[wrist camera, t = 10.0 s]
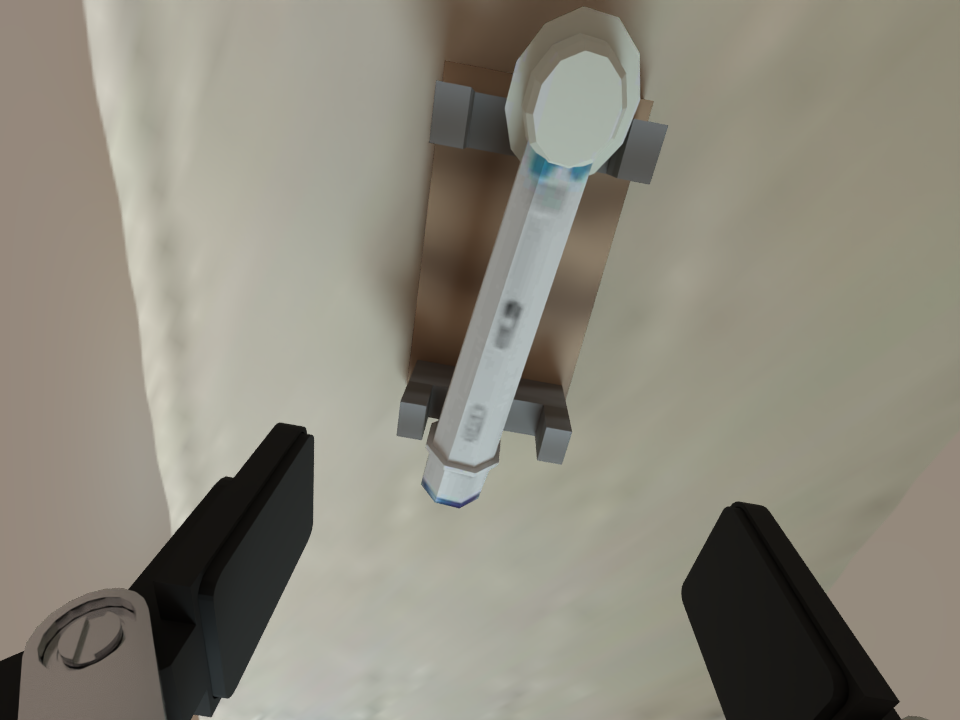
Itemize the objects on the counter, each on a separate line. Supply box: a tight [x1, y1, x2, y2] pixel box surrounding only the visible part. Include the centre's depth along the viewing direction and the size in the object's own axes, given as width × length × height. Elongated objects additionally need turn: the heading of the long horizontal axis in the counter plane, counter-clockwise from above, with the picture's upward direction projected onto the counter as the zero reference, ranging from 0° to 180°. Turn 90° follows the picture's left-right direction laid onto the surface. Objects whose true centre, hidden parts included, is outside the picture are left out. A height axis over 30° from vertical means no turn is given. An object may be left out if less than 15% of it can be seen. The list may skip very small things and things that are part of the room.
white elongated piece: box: [421, 6, 640, 508], centre depth 24 cm, size 5×7×25 cm
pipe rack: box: [397, 61, 668, 464], centre depth 27 cm, size 21×11×8 cm, turn 170°
